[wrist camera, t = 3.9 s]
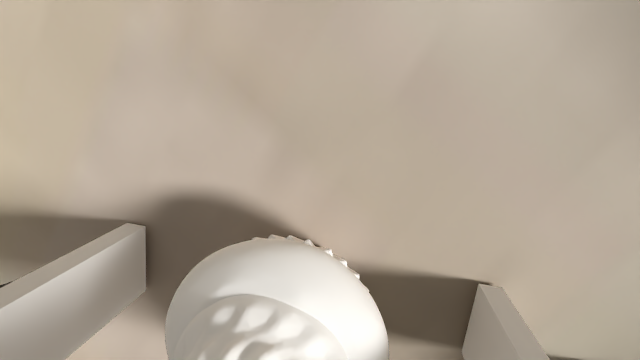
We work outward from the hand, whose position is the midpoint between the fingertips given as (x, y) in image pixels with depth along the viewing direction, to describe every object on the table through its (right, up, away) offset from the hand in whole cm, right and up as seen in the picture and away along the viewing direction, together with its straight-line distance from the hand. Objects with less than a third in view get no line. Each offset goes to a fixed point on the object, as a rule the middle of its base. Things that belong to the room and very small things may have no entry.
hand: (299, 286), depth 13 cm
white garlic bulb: (0, 0, 0) cm, 0 cm away
